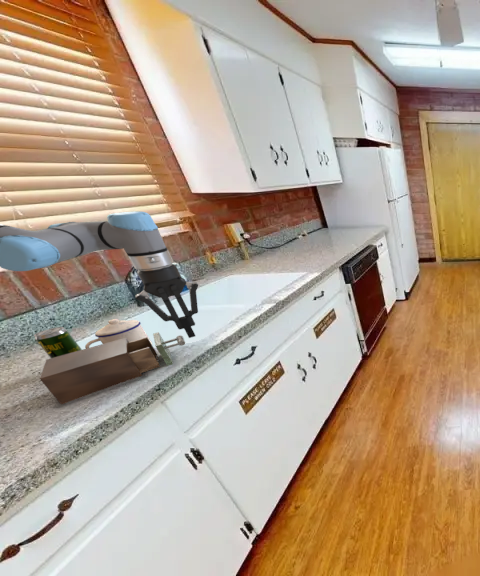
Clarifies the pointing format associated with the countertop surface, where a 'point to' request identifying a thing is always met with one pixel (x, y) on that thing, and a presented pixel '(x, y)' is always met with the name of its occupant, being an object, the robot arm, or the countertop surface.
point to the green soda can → (57, 342)
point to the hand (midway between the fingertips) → (191, 335)
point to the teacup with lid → (119, 332)
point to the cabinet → (89, 370)
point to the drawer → (151, 352)
